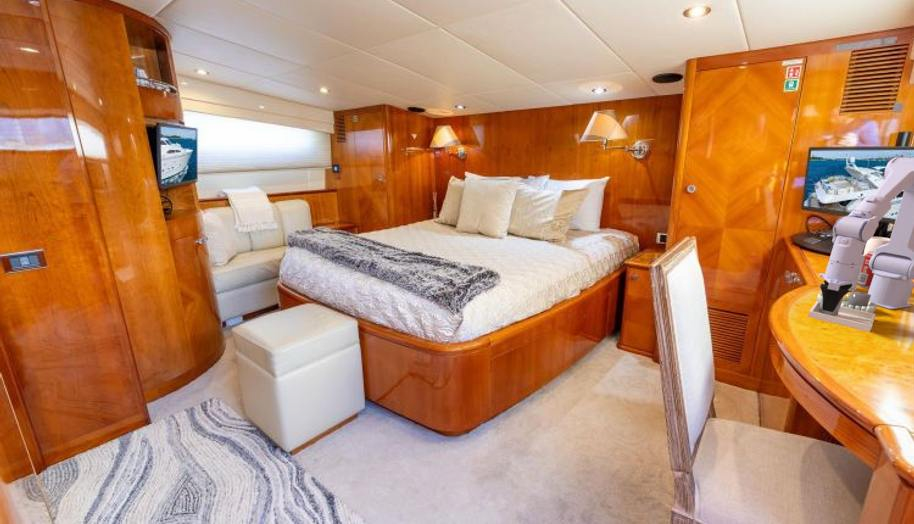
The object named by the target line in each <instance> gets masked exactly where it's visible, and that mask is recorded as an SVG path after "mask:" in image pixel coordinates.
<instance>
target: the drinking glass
mask: <svg viewBox="0 0 914 524" xmlns="http://www.w3.org/2000/svg"><path fill="white" fill-rule="evenodd" d="M890 238H891V237H890ZM890 238H888V237H883V236H872V238H870V239H869V240H868V241H866V243H865V246H864V250H863V253H862V255H866V254H867V253H868V252H874V251H875V249H876V248H877V247H879V246H881V245H884V244H887V243H889V241H890Z"/></svg>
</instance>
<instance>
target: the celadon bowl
mask: <svg viewBox="0 0 914 524" xmlns="http://www.w3.org/2000/svg"><path fill="white" fill-rule="evenodd" d="M850 294H851V293H847V294H846V295H845V296H843V297H842V299H843V300H842V303H841V307H846V308H850V309H853V307H854V306H853V305H849V306H848V307H847V304H848V301H849V298H850ZM822 296H823V295H822V291H820V292H818V294H817V297H816V302H817V301H819V302H821V300H822ZM844 297H845V298H844ZM877 307H878V305H876V304H875V303H874V302H872V301H870V300H869V303H868V306H867V307H865V306H862V308H861V307H860V306H856V307H855V310H859V311H860V308H861V311H864V312H868V313H872V314H874V313H875V312H876V309H877Z"/></svg>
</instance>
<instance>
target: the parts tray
mask: <svg viewBox="0 0 914 524" xmlns="http://www.w3.org/2000/svg"><path fill="white" fill-rule="evenodd" d="M820 303H821V302H819V301H817V300H816V302H815V303H814V304H813V306H812V307H811V308H810V309H809V312H808V314H807V315H808V316H807V317H808V318H812V319H816V320H819V321H823V322H828V323H833V324H835V325H839V326H844V327H848V328H851V329H856V330H860V331H863V332H868V333H871V330H872V327H873V323H874V321H875V318H876V315H877V314H876V313H873V314H872V313H868V312H864V311H859V310H855V309H850V308H846V307H841V306H840V309H839V312H838V315H828V314H824V313H821V312H819V311H818V310H819V306H820Z"/></svg>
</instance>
